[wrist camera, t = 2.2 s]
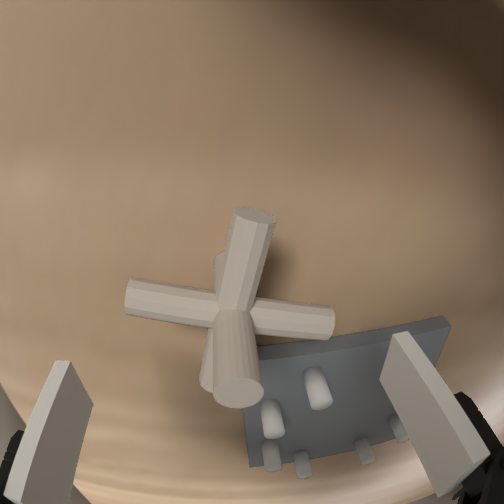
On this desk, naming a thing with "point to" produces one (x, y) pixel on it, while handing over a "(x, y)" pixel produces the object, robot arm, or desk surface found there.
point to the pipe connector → (232, 311)
